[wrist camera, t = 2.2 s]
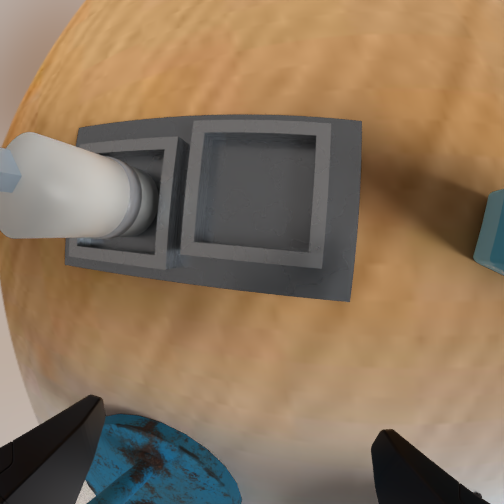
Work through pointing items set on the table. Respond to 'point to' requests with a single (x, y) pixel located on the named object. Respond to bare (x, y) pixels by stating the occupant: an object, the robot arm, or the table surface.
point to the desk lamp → (155, 466)
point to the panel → (237, 203)
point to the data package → (492, 234)
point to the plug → (71, 192)
